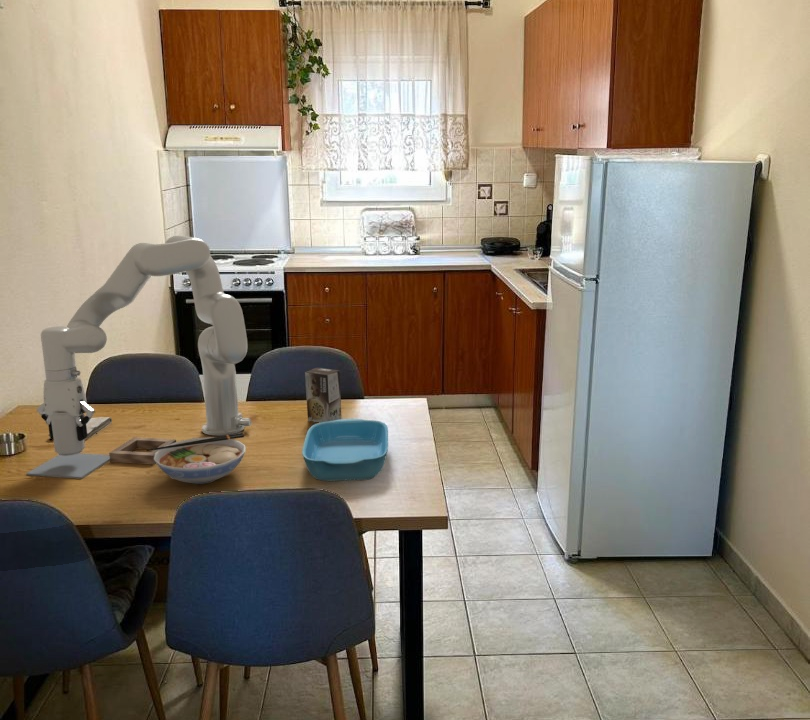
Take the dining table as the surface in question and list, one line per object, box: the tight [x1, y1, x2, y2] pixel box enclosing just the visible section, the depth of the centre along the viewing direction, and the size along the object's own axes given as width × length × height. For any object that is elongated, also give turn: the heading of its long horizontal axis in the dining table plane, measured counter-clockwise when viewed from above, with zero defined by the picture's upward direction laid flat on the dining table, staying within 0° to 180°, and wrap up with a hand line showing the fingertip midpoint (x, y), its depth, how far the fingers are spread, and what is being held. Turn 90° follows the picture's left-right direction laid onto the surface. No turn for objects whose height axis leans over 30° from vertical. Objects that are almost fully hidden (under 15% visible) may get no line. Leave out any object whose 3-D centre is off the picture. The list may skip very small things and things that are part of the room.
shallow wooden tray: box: [108, 436, 177, 465], centre depth 222 cm, size 13×13×2 cm
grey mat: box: [26, 452, 110, 480], centre depth 215 cm, size 16×16×1 cm
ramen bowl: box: [146, 432, 246, 485], centre depth 203 cm, size 25×23×8 cm
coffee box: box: [304, 367, 343, 423], centre depth 248 cm, size 9×6×16 cm
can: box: [51, 412, 86, 456], centre depth 212 cm, size 8×8×12 cm
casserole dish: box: [301, 418, 389, 482], centre depth 214 cm, size 37×22×7 cm, turn 2°
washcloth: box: [48, 416, 113, 441], centre depth 243 cm, size 12×18×3 cm, turn 175°
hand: (68, 438), depth 213 cm, fingers closed on can, 7 cm apart
